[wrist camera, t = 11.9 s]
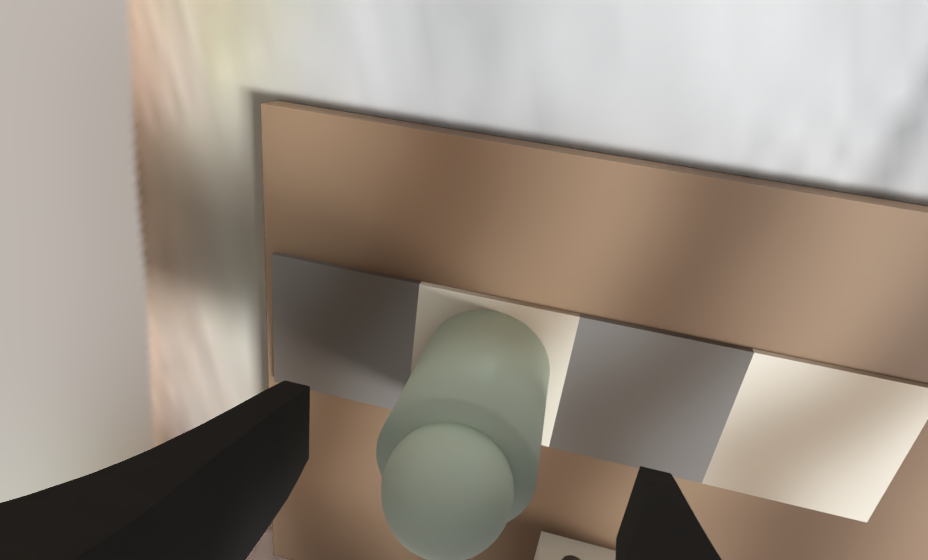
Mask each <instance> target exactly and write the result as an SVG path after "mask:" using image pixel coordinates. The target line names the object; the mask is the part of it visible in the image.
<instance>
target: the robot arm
mask: <svg viewBox="0 0 928 560" xmlns="http://www.w3.org/2000/svg"><path fill="white" fill-rule="evenodd" d="M309 425H310V386H306V385H302V384H298V383H294V382H290V381H286V380H284V381H282V382H280V383H278V384H276V385H274V386H272V387H270V388H269V389H267V390H265V391H263V392H261V393H259V394H258V395H256V396H254V397H252V398H250V399H248V400H247V401H245V402H243V403H241V404H239V405H237V406H236V407H234V408H232V409H230V410H228V411H226V412H224V413H223V414H221V415H219V416H217V417H215V418H213V419H211V420H209V421H207V422H206V423H204V424H202V425H200V426H198V427H196V428H194V429H192V430H190V431H188V432H185V433H183V434H181V435H179V436H177V437H175V438H173V439H171V440H169V441H167V442H165V443H163V444H161V445H159V446H156V447H154V448H152V449H150V450H148V451H146V452H143V453H141V454H139V455H137V456H134V457H132V458H129V459H127V460H125V461H122V462H120V463H117V464H115V465H112V466H109V467H107V468H104V469H102V470H99V471H97V472H94V473H92V474H89V475H86V476H83V477H80V478H78V479H74V480H71V481H68V482H66V483H62V484H60V485H56V486H53V487H50V488H48V489H45V490H42V491H38V492H36V493H32V494H30V495H27V496H23V497H20V498H17V499H13V500H10V501H6V502H2V503H0V560H245V559H246V558H247V557H248V555H249V554H250V552H251V551H252V549H253V548H254V547H255V545H256V544H257V542H258V541H259V540H260V538H261V537H262V535H263V534H264V532H265V531H266V530H267V528H268V527H269V525H270V524H271V522H272V521H273V519H274V518H275V517H276V515H277V514H278V512H279V511H280V509H281V508H282V506H283V505H284V503H285V502H286V500H287V499H288V497H289V495H290V494H291V492H292V490H293V488H294V486H295V484H296V483H297V481H298V479H299V477H300V475H301V473H302V471H303V469H304V467H305V465H306V463H307V461H308V459H309ZM615 560H722V559H721V557H720V556H719V554H718V553H717V551H716V550H715V548H714V546H713V545H712V543H711V541H710V540H709V538H708V536H707V535H706V533H705V531H704V530H703V528H702V526H701V524H700V523H699V521H698V519H697V518H696V516H695V514H694V512H693V511H692V509H691V507H690V505H689V504H688V502H687V500H686V498H685V497H684V495H683V493H682V491H681V489H680V488H679V486H678V484H677V482H676V481H675V479H674V477H673V476H672V474H671V473H667V472H663V471H659V470H655V469H651V468H647V467H642V466H640V468H639V471H638V474H637V477H636V480H635V483H634V486H633V489H632V492H631V495H630V498H629V501H628V504H627V507H626V510H625V513H624V516H623V519H622V522H621V525H620V528H619V531H618V534H617V537H616V558H615Z"/></svg>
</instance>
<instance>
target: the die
mask: <svg viewBox="0 0 928 560" xmlns="http://www.w3.org/2000/svg"><path fill="white" fill-rule="evenodd" d="M615 558H616V551H615V550H611V549H608V548H604V547H600V546H596V545H592V544H589V543H585V542H581V541H577V540H574V539H570V538H566V537H562V536H558V535H555V534H551V533H547V532H543V531H541V534H540V538H539V542H538V546H537V550H536V553H535V557H534V560H615Z"/></svg>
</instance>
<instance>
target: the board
mask: <svg viewBox="0 0 928 560" xmlns="http://www.w3.org/2000/svg"><path fill="white" fill-rule="evenodd" d="M261 128H262V163H263V199H264V234H265V269H266V305H267V340H268V375H269V388H270V387H272V386H274V385H276V384H278V383H280V382H282V381H284V380H286V381H290V382H294V383H298V384H302V385H306V386H310V425H309V459H308V461H307V463H306V465H305V467H304V469H303V471H302V473H301V475H300V477H299V479H298V481H297V483H296V484H295V486H294V488H293V490H292V492H291V494H290V495H289V497H288V499H287V500H286V502H285V503H284V505H283V506H282V508H281V509H280V511H279V512H278V514H277V515H276V517H275V518H274V519H273V552H274V555H276V556H279V557H283V558H286V559H290V560H426V559H424V558H421V557H419V556H417V555H415V554H414V553H412V552H411V551H409V550H408V549H407V548H406V547H404V546H403V545H402V544H401V543H400V542H399V541H398V539H397V538H396V537H395V535H394V534H393V532H392V531H391V529H390V527H389V526H388V524H387V521H386V518H385V515H384V513H383V508H382V502H381V483H382V476H381V474H380V471H379V468H378V464H377V459H376V446H377V440H378V437H379V434H380V432H381V430H382V427H383V426H384V424H385V422H386V420H387V418H388V416H389V414H390V413H391V411H392V409H393V407H394V405H395V403H396V402H397V400H398V398H399V396H400V394H401V392H402V390H403V389H404V387H405V385H406V383H407V381H408V379H409V377H410V376H411V374H412V372H413V370H414V368H415V366H416V365H417V363H418V361H419V359H420V357H421V355H422V353H423V352H424V350H425V348H426V346H427V344H428V342H429V340H430V339H431V337H432V335H433V334H434V332H435V331H436V329H437V328H438V327H439V326H440V325H441V324H442V323H443V322H445V321H446V320H447V319H449V318H451V317H452V316H455V315H457V314H459V313H462V312H466V311H472V310H492V311H497V312H501V313H504V314H507V315H510V316H512V317H514V318H516V319H518V320H519V321H521V322H522V323H524V324H525V325H527V326H528V327H529V328H530V329H531V330H532V331H533V332H534V333H535V334H536V335H537V336H538V338H539V339H540V340H541V342H542V344H543V346H544V347H545V349H546V352H547V355H548V359H549V364H550V375H549V384H548V393H547V401H546V409H545V418H544V426H543V434H542V443H541V451H540V459H539V468H538V476H537V484H536V489H535V492H534V495H533V497H532V499H531V501H530V503H529V504H528V506H527V507H526V508H525V509H524V510H523V511H522V512H521V513H520V514H519V515H518V516H517V517H515V518H514V519H512V520H511V521H509V522H507V523H506V526H505V528H504V529H503V531H502V532H501V534H500V535H499V537H498V538H497V539H496V540H495V541H494V542H493V543H492V544H491V545H490V546H489V547H488V548H487V549H486V550H484V551H483V552H481V553H480V554H478V555H476V556H474V557H472V558H470V559H467V560H534V557H535V553H536V550H537V546H538V542H539V538H540V534H541V531H543V532H547V533H551V534H555V535H558V536H562V537H566V538H570V539H574V540H577V541H581V542H585V543H589V544H592V545H596V546H600V547H604V548H608V549H611V550H615V551H616V537H617V534H618V531H619V528H620V525H621V522H622V519H623V516H624V513H625V510H626V507H627V504H628V501H629V498H630V495H631V492H632V489H633V486H634V483H635V480H636V477H637V474H638V471H639V468H640V466H642V467H647V468H651V469H655V470H659V471H663V472H667V473H671V474H672V476H673V477H674V479H675V481H676V482H677V484H678V486H679V488H680V489H681V491H682V493H683V495H684V497H685V498H686V500H687V502H688V504H689V505H690V507H691V509H692V511H693V512H694V514H695V516H696V518H697V519H698V521H699V523H700V524H701V526H702V528H703V530H704V531H705V533H706V535H707V536H708V538H709V540H710V541H711V543H712V545H713V546H714V548H715V550H716V551H717V553H718V554H719V556H720V557H721V559H722V560H928V206H923V205H917V204H911V203H905V202H899V201H893V200H886V199H880V198H874V197H868V196H862V195H856V194H849V193H843V192H837V191H831V190H825V189H819V188H813V187H806V186H800V185H794V184H788V183H782V182H776V181H769V180H763V179H757V178H751V177H745V176H739V175H733V174H726V173H720V172H714V171H708V170H702V169H696V168H690V167H683V166H677V165H671V164H665V163H659V162H653V161H646V160H640V159H634V158H628V157H622V156H616V155H610V154H603V153H597V152H591V151H585V150H579V149H573V148H566V147H560V146H554V145H548V144H542V143H536V142H530V141H523V140H517V139H511V138H505V137H499V136H493V135H487V134H480V133H474V132H468V131H462V130H456V129H450V128H443V127H437V126H431V125H425V124H419V123H413V122H407V121H400V120H394V119H388V118H382V117H376V116H370V115H363V114H357V113H351V112H345V111H339V110H333V109H327V108H320V107H314V106H308V105H302V104H296V103H290V102H284V101H272V102H266V103H261Z"/></svg>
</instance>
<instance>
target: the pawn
mask: <svg viewBox="0 0 928 560" xmlns="http://www.w3.org/2000/svg"><path fill="white" fill-rule="evenodd" d="M549 375H550V364H549V359H548V355H547V352H546V349H545V347H544V346H543V344H542V342H541V340H540V339H539V338H538V336H537V335H536V334H535V333H534V332H533V331H532V330H531V329H530V328H529V327H528V326H527V325H525V324H524V323H522V322H521V321H519V320H518V319H516V318H514V317H512V316H510V315H507V314H504V313H501V312H497V311H492V310H472V311H466V312H462V313H459V314H457V315H455V316H452V317H451V318H449V319H447V320H446V321H445V322H443V323H442V324H441V325H440V326H439V327H438V328H437V329H436V331H435V332H434V334H433V335H432V337H431V339H430V340H429V342H428V344H427V346H426V348H425V350H424V352H423V353H422V355H421V357H420V359H419V361H418V363H417V365H416V366H415V368H414V370H413V372H412V374H411V376H410V377H409V379H408V381H407V383H406V385H405V387H404V389H403V390H402V392H401V394H400V396H399V398H398V400H397V402H396V403H395V405H394V407H393V409H392V411H391V413H390V414H389V416H388V418H387V420H386V422H385V424H384V426H383V427H382V430H381V432H380V434H379V437H378V440H377V446H376V459H377V464H378V468H379V471H380V474H381V476H382V483H381V502H382V508H383V513H384V515H385V518H386V521H387V524H388V526H389V527H390V529H391V531H392V532H393V534H394V535H395V537H396V538H397V539H398V541H399V542H400V543H401V544H402V545H403V546H404V547H406V548H407V549H408V550H409V551H411V552H412V553H414V554H415V555H417V556H419V557H421V558H424V559H426V560H467V559H470V558H472V557H474V556H476V555H478V554H480V553H481V552H483V551H484V550H486V549H487V548H488V547H489V546H490V545H491V544H492V543H493V542H494V541H495V540H496V539H497V538H498V537H499V535H500V534H501V532H502V531H503V529H504V528H505V526H506V523H507V522H509V521H511V520H512V519H514V518H515V517H517V516H518V515H519V514H520V513H521V512H522V511H523V510H524V509H525V508H526V507H527V506H528V504H529V503H530V501H531V499H532V497H533V495H534V492H535V489H536V484H537V476H538V468H539V459H540V451H541V443H542V434H543V426H544V418H545V409H546V401H547V393H548V384H549Z"/></svg>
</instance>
